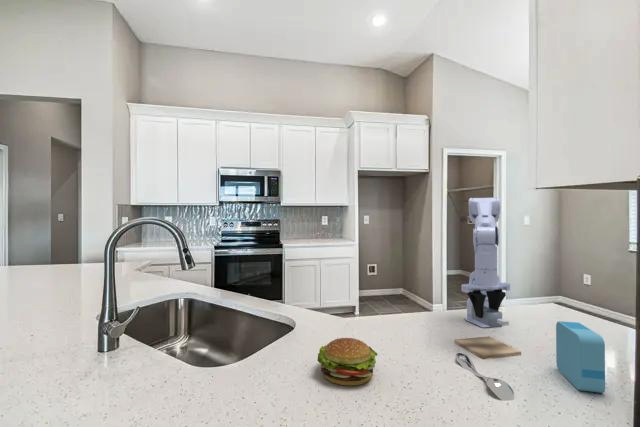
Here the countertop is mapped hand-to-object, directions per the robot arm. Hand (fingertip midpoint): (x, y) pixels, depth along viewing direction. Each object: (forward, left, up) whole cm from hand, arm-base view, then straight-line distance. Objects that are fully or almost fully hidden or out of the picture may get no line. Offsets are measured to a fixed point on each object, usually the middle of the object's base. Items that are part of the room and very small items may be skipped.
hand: (486, 316), depth 94 cm
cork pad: (0, 0, -9) cm, 9 cm away
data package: (+21, +7, -9) cm, 24 cm away
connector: (+1, 0, -1) cm, 2 cm away
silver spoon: (+15, -14, -10) cm, 22 cm away
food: (+6, -43, -9) cm, 44 cm away
